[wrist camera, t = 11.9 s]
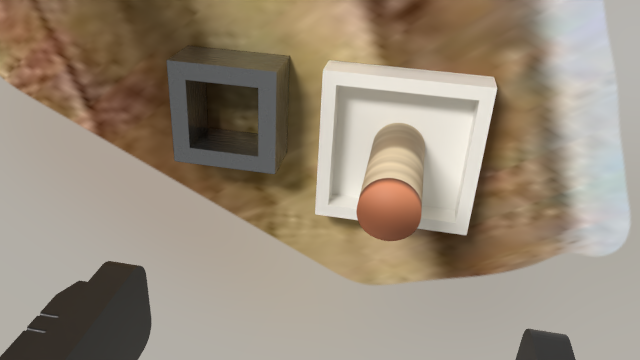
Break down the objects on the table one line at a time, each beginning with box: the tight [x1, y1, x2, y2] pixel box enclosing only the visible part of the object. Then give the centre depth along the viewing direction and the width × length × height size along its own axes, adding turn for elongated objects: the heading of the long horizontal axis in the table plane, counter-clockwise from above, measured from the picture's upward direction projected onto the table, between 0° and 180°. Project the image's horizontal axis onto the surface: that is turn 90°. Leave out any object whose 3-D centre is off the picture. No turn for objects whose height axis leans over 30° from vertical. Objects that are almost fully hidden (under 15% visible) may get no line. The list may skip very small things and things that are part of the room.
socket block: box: [167, 46, 290, 174], centre depth 43 cm, size 8×8×4 cm
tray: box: [315, 60, 497, 235], centre depth 43 cm, size 12×12×2 cm
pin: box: [356, 123, 425, 241], centre depth 40 cm, size 4×4×10 cm
